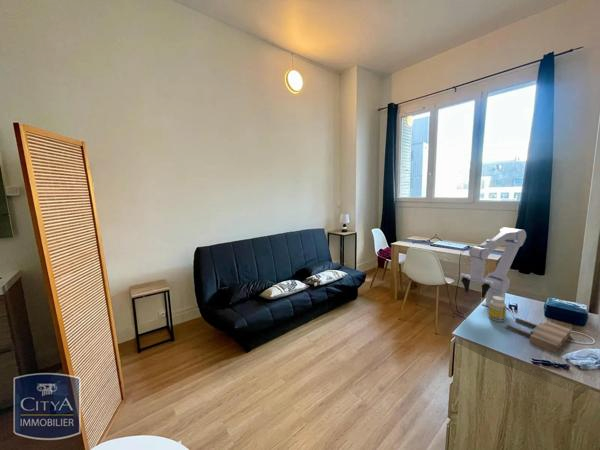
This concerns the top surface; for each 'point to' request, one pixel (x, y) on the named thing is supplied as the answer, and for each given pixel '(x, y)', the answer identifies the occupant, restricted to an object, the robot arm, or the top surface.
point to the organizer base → (544, 334)
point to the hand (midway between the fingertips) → (474, 294)
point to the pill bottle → (497, 309)
